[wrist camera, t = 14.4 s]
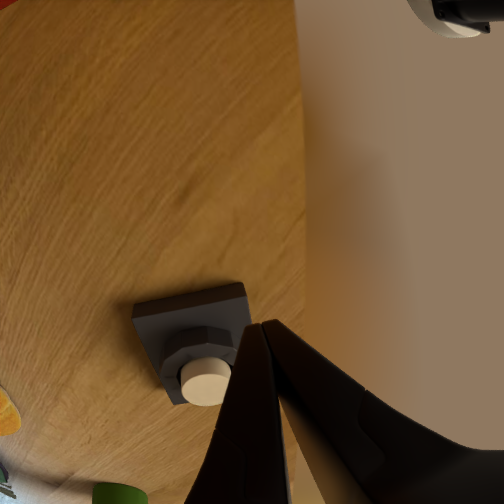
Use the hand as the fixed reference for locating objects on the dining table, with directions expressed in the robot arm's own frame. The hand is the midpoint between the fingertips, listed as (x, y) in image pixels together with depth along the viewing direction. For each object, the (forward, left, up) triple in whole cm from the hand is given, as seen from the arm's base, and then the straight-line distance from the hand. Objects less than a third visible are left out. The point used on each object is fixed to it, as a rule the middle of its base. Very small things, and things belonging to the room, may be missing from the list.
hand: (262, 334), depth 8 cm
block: (+4, +12, -13) cm, 18 cm away
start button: (+4, +12, -10) cm, 16 cm away
